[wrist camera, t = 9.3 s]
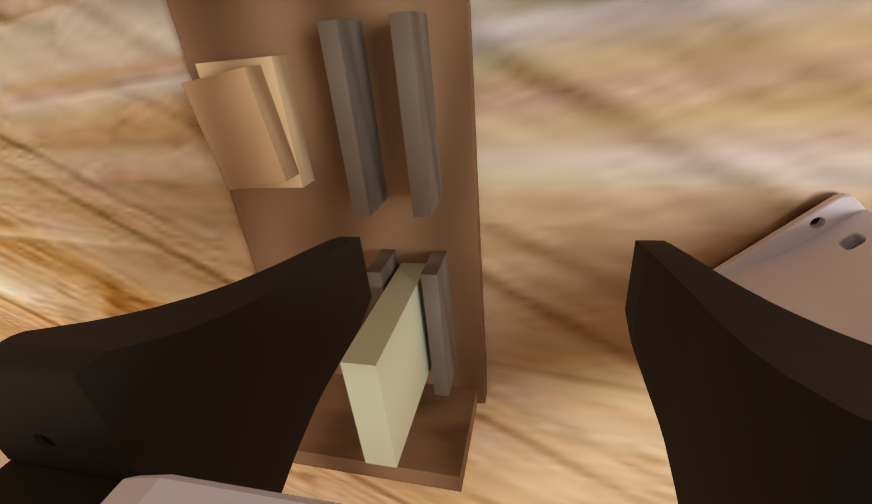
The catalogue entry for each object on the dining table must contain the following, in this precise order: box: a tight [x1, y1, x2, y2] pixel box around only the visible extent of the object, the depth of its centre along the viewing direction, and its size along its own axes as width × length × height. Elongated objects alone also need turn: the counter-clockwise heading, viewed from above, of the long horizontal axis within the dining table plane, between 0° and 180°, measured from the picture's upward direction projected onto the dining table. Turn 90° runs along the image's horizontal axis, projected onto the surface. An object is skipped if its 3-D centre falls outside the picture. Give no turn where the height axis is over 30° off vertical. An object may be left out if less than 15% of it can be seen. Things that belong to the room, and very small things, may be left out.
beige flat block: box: [340, 263, 432, 468], centre depth 21 cm, size 2×6×8 cm, turn 5°
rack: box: [166, 0, 487, 492], centre depth 20 cm, size 14×26×7 cm, turn 5°
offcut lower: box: [195, 55, 315, 188], centre depth 20 cm, size 4×6×1 cm, turn 5°
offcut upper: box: [181, 65, 300, 190], centre depth 19 cm, size 3×5×1 cm
